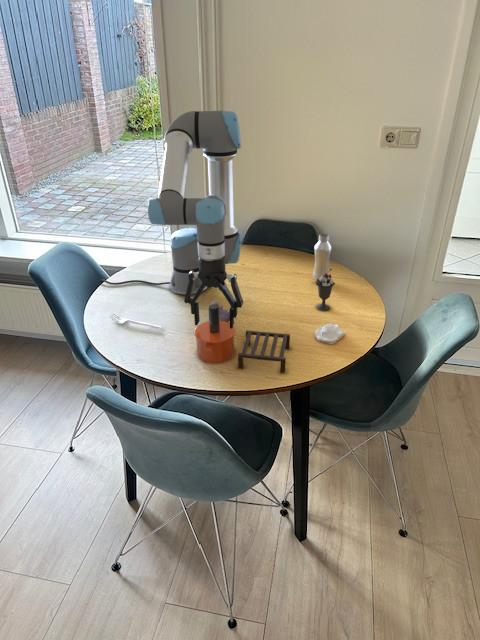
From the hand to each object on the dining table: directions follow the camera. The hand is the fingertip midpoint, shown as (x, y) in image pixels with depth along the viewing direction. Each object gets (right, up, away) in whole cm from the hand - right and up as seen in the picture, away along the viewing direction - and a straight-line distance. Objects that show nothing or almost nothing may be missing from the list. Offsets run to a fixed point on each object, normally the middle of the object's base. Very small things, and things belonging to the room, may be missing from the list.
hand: (214, 324), depth 145 cm
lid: (0, -2, +1) cm, 3 cm away
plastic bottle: (+40, +16, +48) cm, 65 cm away
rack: (+15, -10, +3) cm, 19 cm away
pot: (0, -9, +5) cm, 10 cm away
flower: (0, -1, +20) cm, 20 cm away
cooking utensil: (-34, +1, +22) cm, 40 cm away
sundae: (+38, +6, +30) cm, 49 cm away
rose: (+37, -4, +13) cm, 40 cm away
